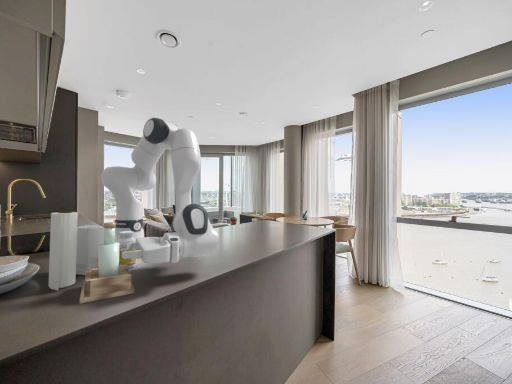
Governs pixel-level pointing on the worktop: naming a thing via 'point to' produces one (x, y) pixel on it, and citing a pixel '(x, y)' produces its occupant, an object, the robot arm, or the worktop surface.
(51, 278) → the paper towel roll
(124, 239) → the supplement bottle
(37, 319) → the worktop surface
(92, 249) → the skincare box
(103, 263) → the glass bottle
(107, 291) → the bottle stand
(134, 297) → the worktop surface
